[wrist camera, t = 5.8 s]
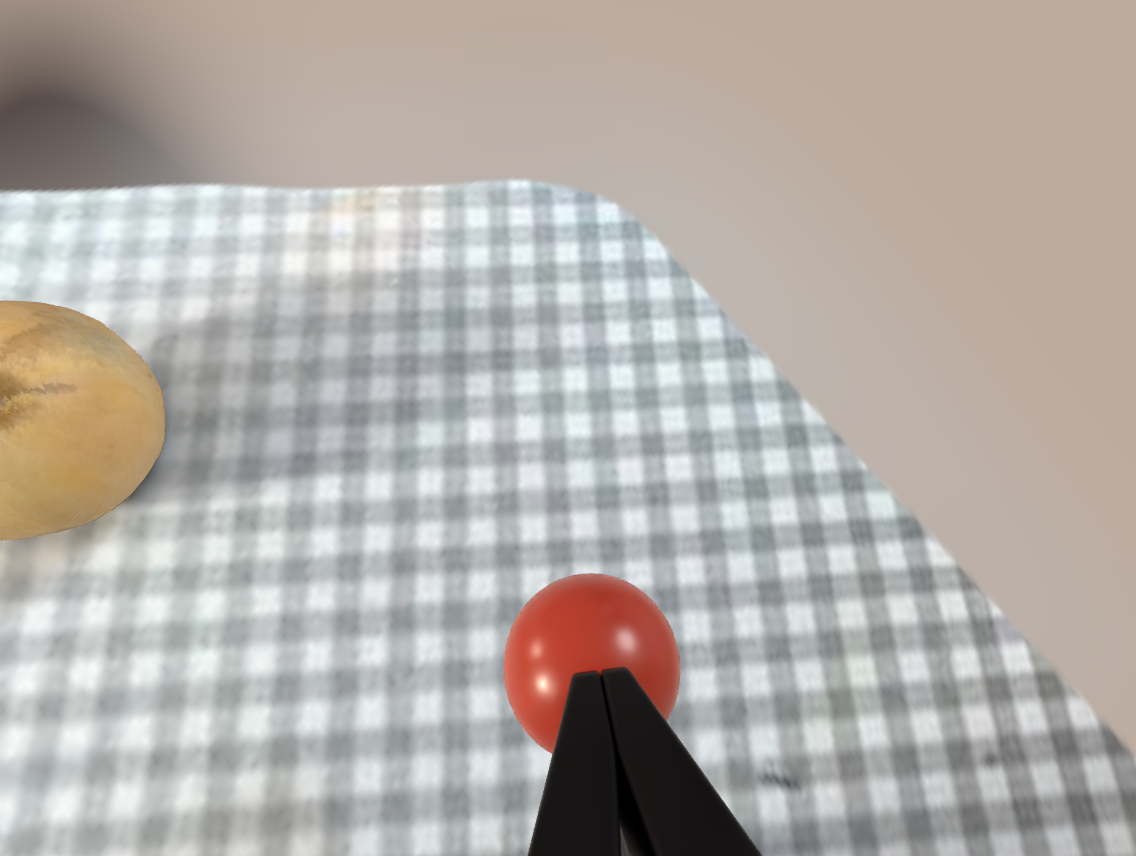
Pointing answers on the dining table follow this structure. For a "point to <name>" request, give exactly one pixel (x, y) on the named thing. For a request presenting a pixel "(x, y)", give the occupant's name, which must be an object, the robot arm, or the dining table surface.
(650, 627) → the lever
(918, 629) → the dining table surface
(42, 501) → the onion
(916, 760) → the dining table surface
